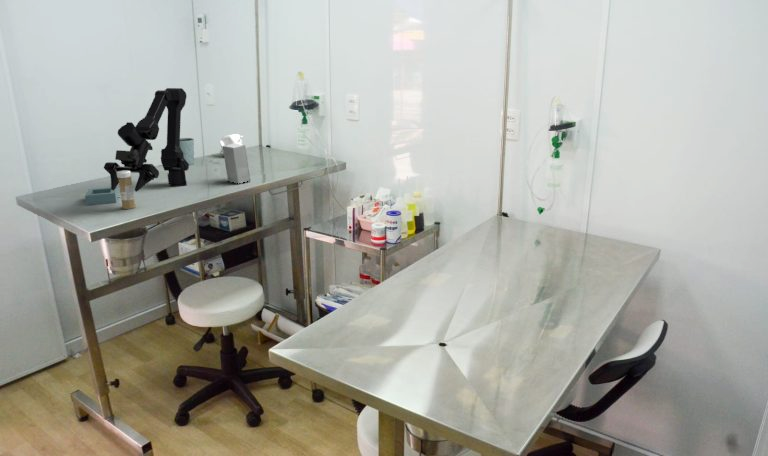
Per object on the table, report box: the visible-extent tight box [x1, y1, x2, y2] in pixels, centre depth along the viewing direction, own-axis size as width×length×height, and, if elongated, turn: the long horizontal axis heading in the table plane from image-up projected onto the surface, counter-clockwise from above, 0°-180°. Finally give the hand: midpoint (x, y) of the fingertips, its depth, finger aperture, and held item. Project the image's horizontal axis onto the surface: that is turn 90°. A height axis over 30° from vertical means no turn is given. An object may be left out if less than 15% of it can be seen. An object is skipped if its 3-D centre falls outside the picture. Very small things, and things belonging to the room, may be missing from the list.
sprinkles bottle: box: [117, 170, 136, 210], centre depth 197 cm, size 5×5×13 cm
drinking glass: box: [180, 137, 195, 166], centre depth 265 cm, size 10×10×12 cm
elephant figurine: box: [219, 133, 244, 156], centre depth 280 cm, size 12×18×12 cm
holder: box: [84, 186, 120, 206], centre depth 208 cm, size 10×10×4 cm
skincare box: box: [222, 144, 252, 185], centre depth 232 cm, size 8×7×16 cm
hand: (124, 190), depth 196 cm, fingers open, 9 cm apart
